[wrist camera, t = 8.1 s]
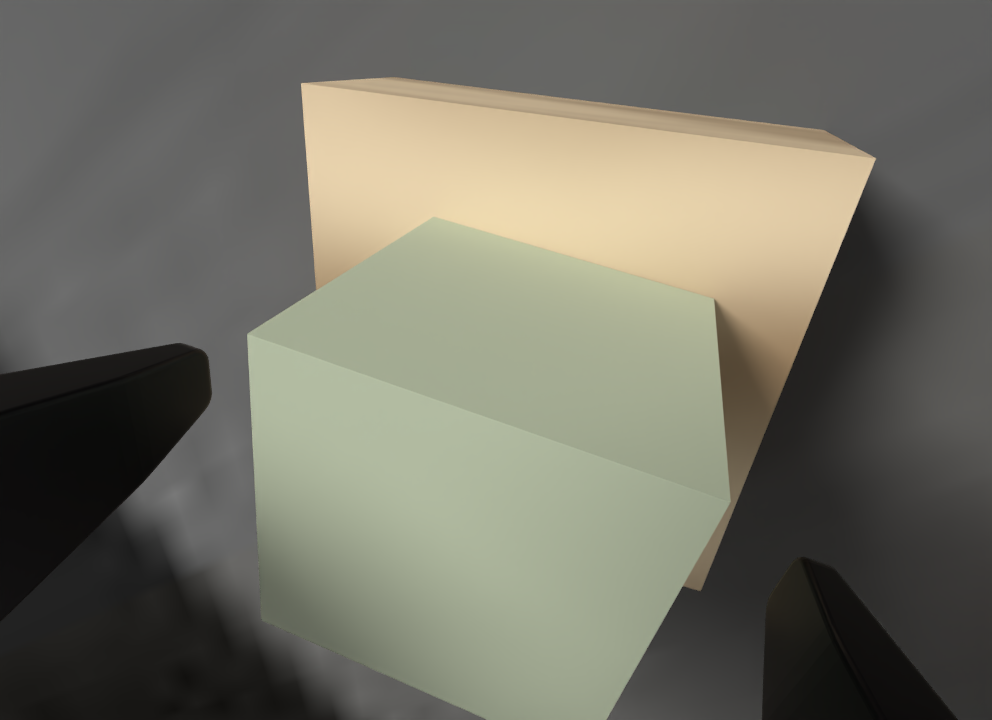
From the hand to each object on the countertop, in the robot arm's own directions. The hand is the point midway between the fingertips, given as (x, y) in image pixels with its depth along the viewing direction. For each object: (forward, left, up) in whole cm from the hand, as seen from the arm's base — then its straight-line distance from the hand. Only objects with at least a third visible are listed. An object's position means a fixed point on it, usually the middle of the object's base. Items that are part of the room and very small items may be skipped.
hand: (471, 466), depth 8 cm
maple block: (0, 0, -7) cm, 7 cm away
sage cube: (0, 0, -3) cm, 3 cm away
